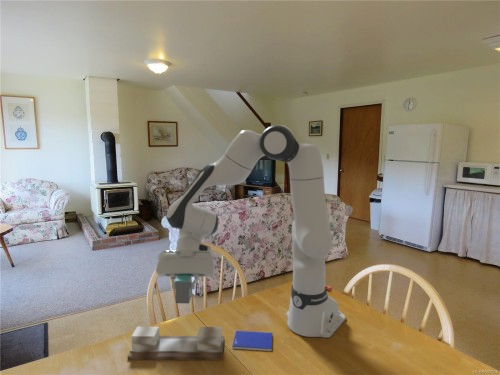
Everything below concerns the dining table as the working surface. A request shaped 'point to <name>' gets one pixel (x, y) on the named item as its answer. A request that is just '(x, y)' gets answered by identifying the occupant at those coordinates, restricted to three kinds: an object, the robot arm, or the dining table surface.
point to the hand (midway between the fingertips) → (183, 288)
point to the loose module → (183, 288)
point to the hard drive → (252, 340)
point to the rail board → (176, 345)
